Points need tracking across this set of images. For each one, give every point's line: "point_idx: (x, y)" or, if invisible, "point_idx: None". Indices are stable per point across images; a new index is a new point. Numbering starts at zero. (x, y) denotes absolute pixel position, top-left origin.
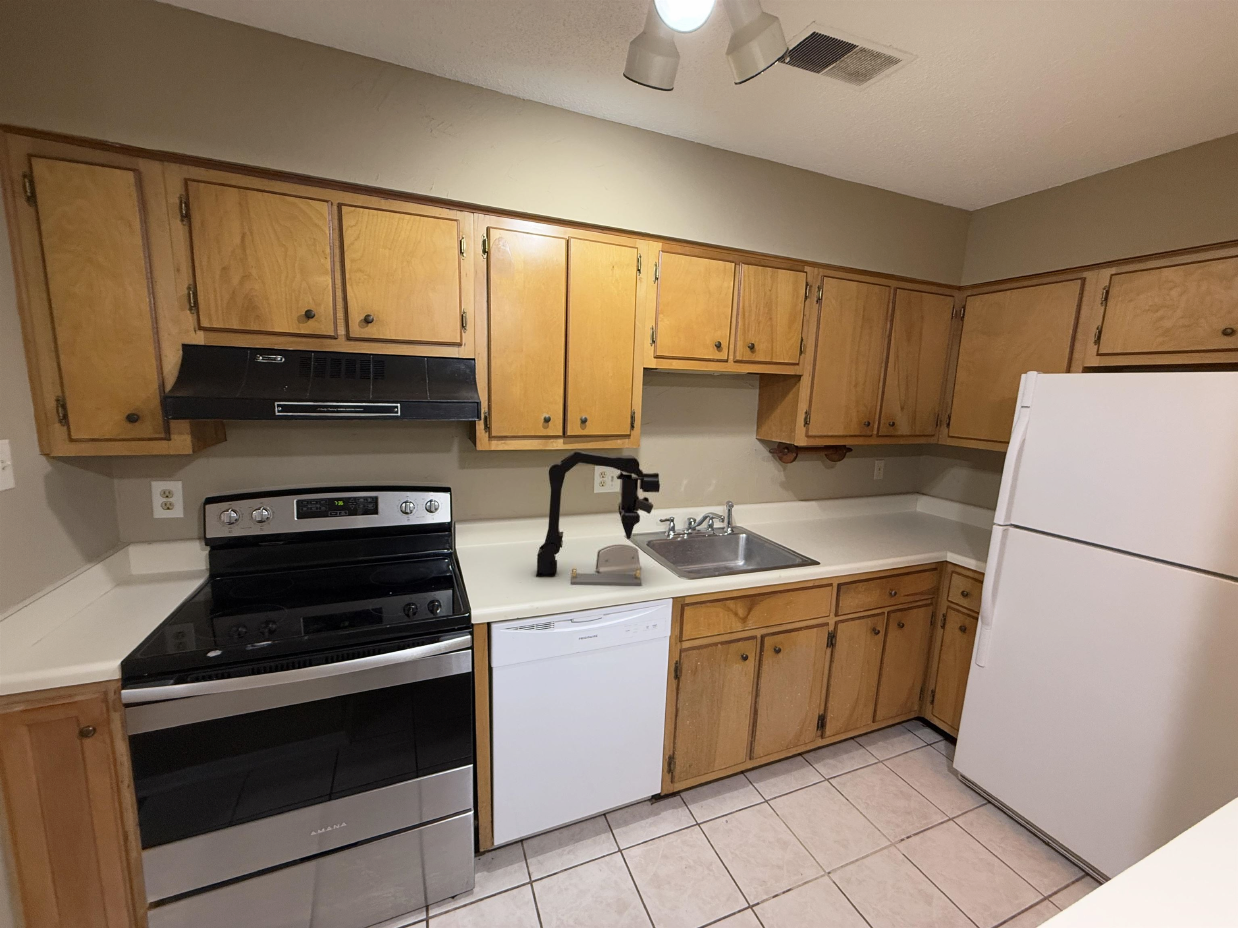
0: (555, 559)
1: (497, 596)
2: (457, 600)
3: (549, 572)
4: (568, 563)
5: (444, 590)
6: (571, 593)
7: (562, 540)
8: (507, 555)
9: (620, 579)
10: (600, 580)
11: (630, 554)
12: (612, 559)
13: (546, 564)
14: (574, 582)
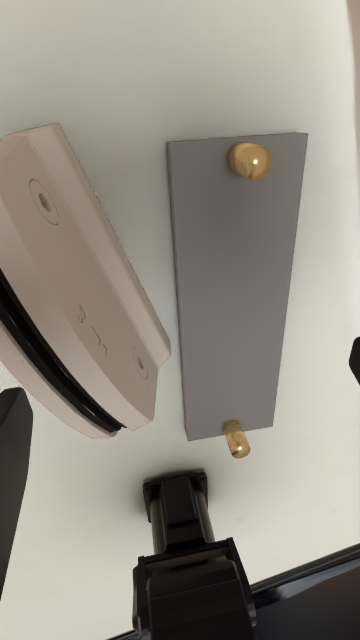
0: (171, 527)
1: (324, 525)
2: (332, 563)
3: (201, 495)
4: (43, 466)
5: (280, 592)
6: (334, 402)
7: (155, 610)
8: (25, 602)
9: (257, 256)
10: (264, 339)
11: (48, 232)
12: (123, 336)
13: (212, 530)
14: (272, 415)
